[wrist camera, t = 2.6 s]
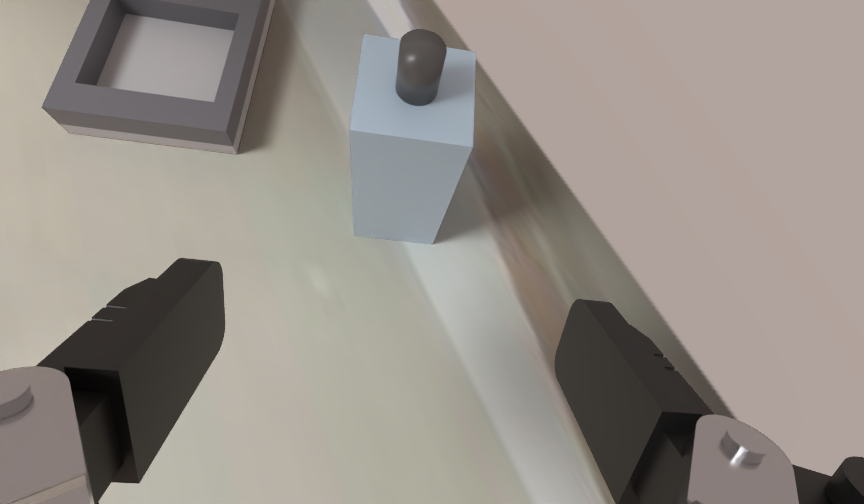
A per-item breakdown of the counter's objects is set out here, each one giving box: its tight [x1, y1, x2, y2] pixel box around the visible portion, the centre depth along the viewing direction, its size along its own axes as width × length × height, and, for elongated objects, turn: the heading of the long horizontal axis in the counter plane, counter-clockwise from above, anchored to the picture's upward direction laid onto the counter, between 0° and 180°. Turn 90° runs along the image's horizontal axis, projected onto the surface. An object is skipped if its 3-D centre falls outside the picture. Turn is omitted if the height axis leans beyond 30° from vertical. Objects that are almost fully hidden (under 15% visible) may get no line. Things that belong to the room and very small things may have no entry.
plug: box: [349, 29, 476, 244], centre depth 20 cm, size 4×4×12 cm
